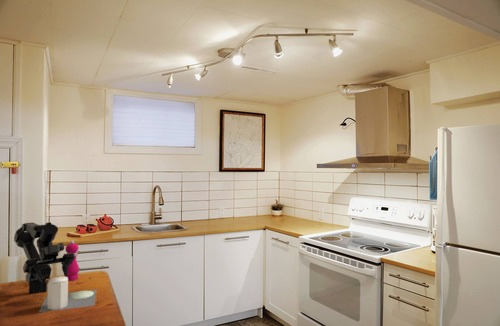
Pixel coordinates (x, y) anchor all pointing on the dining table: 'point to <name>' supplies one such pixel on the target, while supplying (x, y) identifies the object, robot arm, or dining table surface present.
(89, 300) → the board
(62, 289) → the salt shaker
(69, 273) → the pepper mill
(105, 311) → the dining table surface
